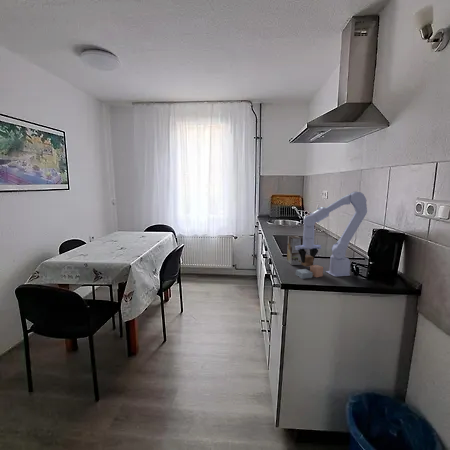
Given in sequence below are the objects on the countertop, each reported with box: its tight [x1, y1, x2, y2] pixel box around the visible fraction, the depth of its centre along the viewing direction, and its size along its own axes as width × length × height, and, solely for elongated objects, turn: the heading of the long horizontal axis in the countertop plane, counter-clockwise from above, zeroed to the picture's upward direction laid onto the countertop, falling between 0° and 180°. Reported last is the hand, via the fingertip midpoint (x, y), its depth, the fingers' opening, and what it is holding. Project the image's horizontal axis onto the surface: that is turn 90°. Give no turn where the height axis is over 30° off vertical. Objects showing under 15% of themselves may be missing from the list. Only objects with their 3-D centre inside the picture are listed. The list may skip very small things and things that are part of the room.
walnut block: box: [301, 254, 315, 267], centre depth 146 cm, size 4×4×5 cm
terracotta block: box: [309, 264, 324, 278], centre depth 138 cm, size 4×4×5 cm
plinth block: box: [295, 268, 314, 279], centre depth 137 cm, size 6×6×3 cm
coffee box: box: [286, 235, 303, 266], centre depth 160 cm, size 9×6×16 cm
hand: (307, 262), depth 146 cm, fingers closed on walnut block, 4 cm apart
